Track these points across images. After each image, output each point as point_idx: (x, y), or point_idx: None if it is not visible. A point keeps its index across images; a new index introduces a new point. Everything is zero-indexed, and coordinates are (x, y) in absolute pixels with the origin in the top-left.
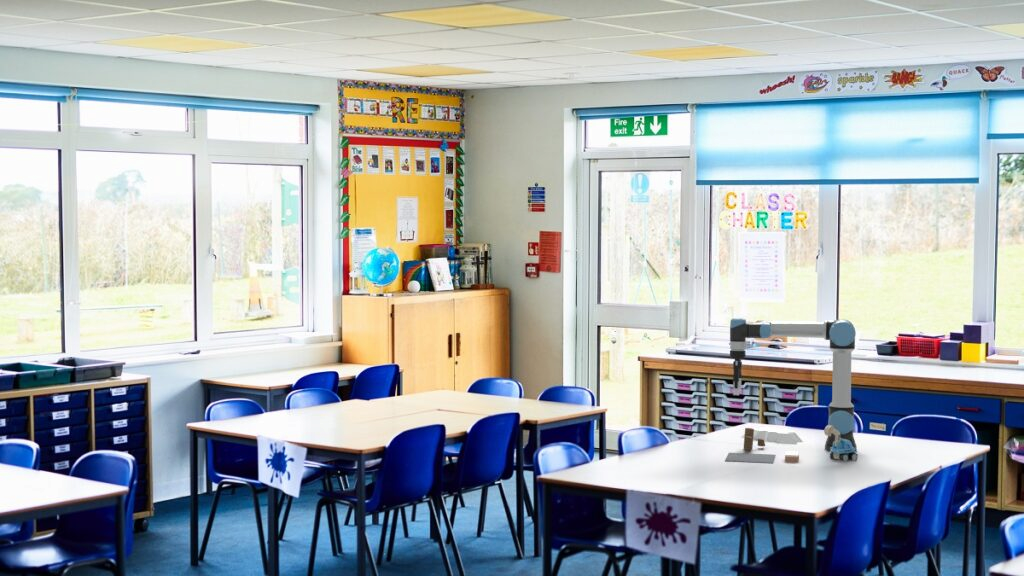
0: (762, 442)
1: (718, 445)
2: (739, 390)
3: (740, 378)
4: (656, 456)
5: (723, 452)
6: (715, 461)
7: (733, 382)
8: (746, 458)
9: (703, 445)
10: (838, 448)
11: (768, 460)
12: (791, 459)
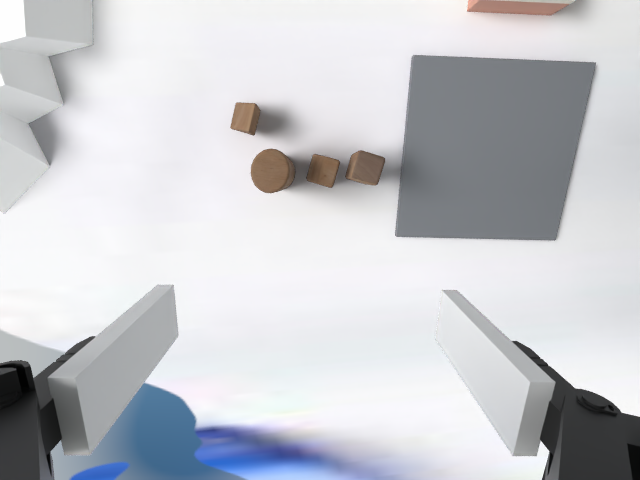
0: (256, 112)
1: (224, 280)
2: (169, 305)
3: (53, 389)
4: (470, 428)
5: (364, 254)
6: (538, 268)
7: (528, 442)
8: (511, 169)
9: (240, 326)
10: None
11: (546, 83)
12: None
